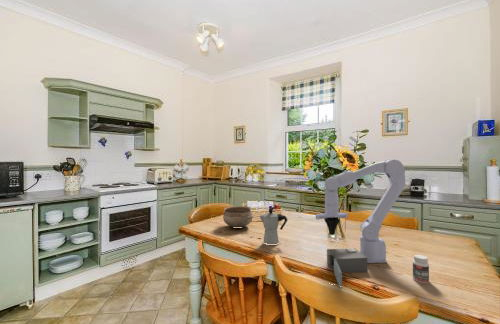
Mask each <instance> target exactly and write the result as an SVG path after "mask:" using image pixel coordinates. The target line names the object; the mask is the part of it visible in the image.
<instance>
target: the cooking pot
mask: <svg viewBox="0 0 500 324" xmlns="http://www.w3.org/2000/svg"><path fill="white" fill-rule="evenodd" d="M223 210H224V211H223V212H222V213H223V216H222V218H223V219H222V220H223V222H224V224H225V225H227V226H229V227H230V226H231V228H232V227H243V228H245V227H247V226H248V225H250V223H251V222H252V220H253V218H254V215H253V213H252V207H250V206H247V205H245V206H244V205H233V206H227V207H224V208H223ZM244 226H245V227H244Z"/></svg>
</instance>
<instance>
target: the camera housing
mask: <svg viewBox="0 0 500 324" xmlns="http://www.w3.org/2000/svg"><path fill="white" fill-rule="evenodd" d="M334 259H336V260H337V263H338V265H339V267H340V270H341V272H343V273H366V272H368V269H369V268H368V263H367V257H366V256H364V255H363V254H362V253H360V251H359V250H358V249H356V248H353V247H352V248H349V247H348V248H329V249H328V248H327V249H326V262H327V264H328V265H329V267H331V266H332V267H331V268H332V270H334ZM343 273H342V274H343Z"/></svg>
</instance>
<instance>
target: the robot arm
mask: <svg viewBox="0 0 500 324" xmlns="http://www.w3.org/2000/svg"><path fill="white" fill-rule="evenodd" d="M374 173H379V174H381V173H382V174H385V175H386V176H387V178H388V181H389V183H390V184H389V185H388V187H387V189H386V190H385V192H384V193H383V195H382V197H381V198H380V200H379V201H378V202H377V205H376V206H375V208H374V210H373V211H372V213H371V214H370V215H369V216H368V217H367V219H365V220H364V221H362V222H361V223H360V226H359V227H360V231H361V233H362V234H361V235H360V236H359V250H360V251H359V252H360V253H362V254H363V255H364V256H366V257H367V264H375V263H381V264H382V263H388V261H387V245H386V242H385V240H384V239H383V238H381V237H379V236H380V230H381V228H382V225H383V222H384V220H385V218H386V217H387V215H388V214H389V212H390V211H391V209H392V207H393V206H394V205H395V202H396V201H397V200H398V198H399V196H401V193H402V192H403V190H404V189H405V187H406V168H405V167H404V164H403V163H402V161H400V160H399V159H387V160H385V161H384V160H383V161H379V162H374V163H372V164H370V165H367V166H364V167H362V168H360V169H357V170H355V171H352V170H347V169H345V170H343V172H341V173H339V174H334V175H333V176H331V177H328V178H326V179H325V181H324V187H325V190H324V212H323V213H316V214H315V219H316V220H321V219H322V220H324V221H325V224H326V225H327V229H328V233H329V234H330V236H334V235H335V234H336V230H337V227H338V225H339V224H340V221H341V220H340V219H341V218H345V219H347V218H348V217H349V215H348V213H347V212H339V194H338V189H339V188H343V187H346V186H349V185H352V184H354V183H356V181H357V179H359V178H361V177H362V178H363V177H365V176H369V175H371V174H374Z"/></svg>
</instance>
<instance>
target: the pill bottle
mask: <svg viewBox="0 0 500 324" xmlns="http://www.w3.org/2000/svg"><path fill="white" fill-rule="evenodd" d="M428 262H429V257H427V256H426V255H423V254H414V255H413V260H412V279H413V280H414V281H415V282H417V283H420V284H428V283H430V265H429V263H428Z"/></svg>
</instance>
